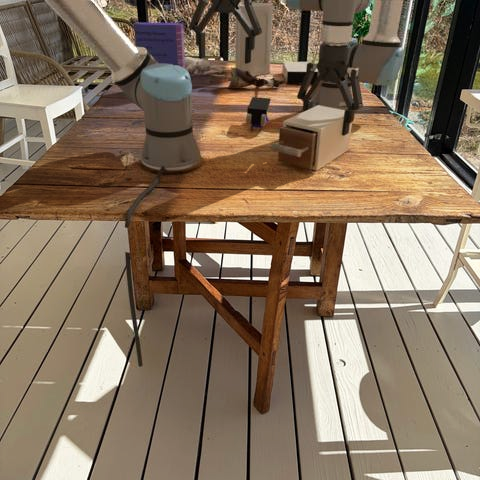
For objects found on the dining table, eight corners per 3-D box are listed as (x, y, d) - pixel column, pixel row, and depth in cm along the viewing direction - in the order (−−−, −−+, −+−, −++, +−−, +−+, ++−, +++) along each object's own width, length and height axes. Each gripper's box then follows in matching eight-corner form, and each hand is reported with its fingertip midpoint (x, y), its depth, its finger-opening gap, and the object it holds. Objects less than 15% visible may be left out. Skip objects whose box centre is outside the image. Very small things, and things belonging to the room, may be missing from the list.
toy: (175, 82, 199) (174, 65, 195) (149, 71, 216) (148, 55, 212) (224, 75, 210) (224, 59, 207) (196, 65, 228) (196, 50, 224)
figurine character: (266, 138, 144) (270, 118, 156) (267, 114, 140) (271, 95, 151) (244, 136, 145) (250, 117, 157) (244, 113, 140) (250, 94, 152)
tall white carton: (273, 76, 210) (276, 6, 196) (239, 77, 209) (240, 6, 194) (266, 67, 226) (268, 2, 212) (235, 67, 225) (235, 1, 210)
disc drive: (287, 84, 198) (287, 71, 196) (281, 72, 218) (282, 61, 215) (329, 84, 199) (330, 72, 196) (320, 72, 218) (321, 61, 216)
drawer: (299, 176, 114) (302, 141, 110) (266, 167, 119) (267, 133, 115) (340, 150, 130) (345, 118, 126) (310, 142, 135) (313, 111, 130)
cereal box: (185, 88, 190) (183, 22, 177) (183, 91, 186) (180, 24, 173) (142, 87, 190) (136, 21, 178) (139, 90, 186) (133, 23, 174)
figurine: (210, 87, 179) (288, 95, 182) (212, 65, 176) (291, 73, 180) (208, 84, 201) (278, 91, 205) (210, 64, 198) (280, 71, 202)
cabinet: (316, 170, 120) (321, 129, 115) (280, 160, 126) (283, 120, 120) (348, 149, 133) (353, 111, 128) (314, 141, 138) (318, 105, 133)
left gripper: (276, -27, 120) (271, 62, 131) (187, -30, 127) (190, 54, 138) (267, -26, 114) (263, 67, 125) (174, -30, 121) (177, 58, 132)
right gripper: (385, 46, 115) (371, 135, 126) (302, 36, 127) (295, 118, 138) (373, 50, 110) (360, 142, 121) (287, 40, 121) (282, 125, 133)
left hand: (224, 60), depth 131 cm, fingers open, 13 cm apart
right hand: (325, 129), depth 130 cm, fingers closed on cabinet, 11 cm apart
